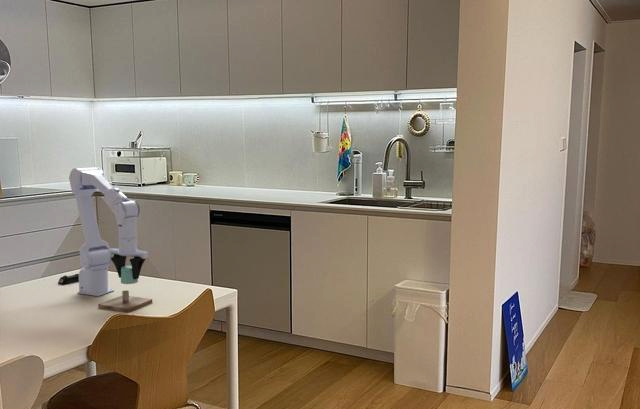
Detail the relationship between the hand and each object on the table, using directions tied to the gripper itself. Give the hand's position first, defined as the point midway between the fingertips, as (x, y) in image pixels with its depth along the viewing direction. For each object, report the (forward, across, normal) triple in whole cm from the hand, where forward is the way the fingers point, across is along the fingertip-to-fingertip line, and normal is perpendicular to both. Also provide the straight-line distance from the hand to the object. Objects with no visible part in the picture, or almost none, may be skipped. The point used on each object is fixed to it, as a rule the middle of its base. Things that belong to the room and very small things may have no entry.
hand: (128, 277), depth 200 cm
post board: (+8, +1, -3) cm, 9 cm away
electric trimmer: (+9, -37, +16) cm, 41 cm away
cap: (+2, 0, 0) cm, 2 cm away
